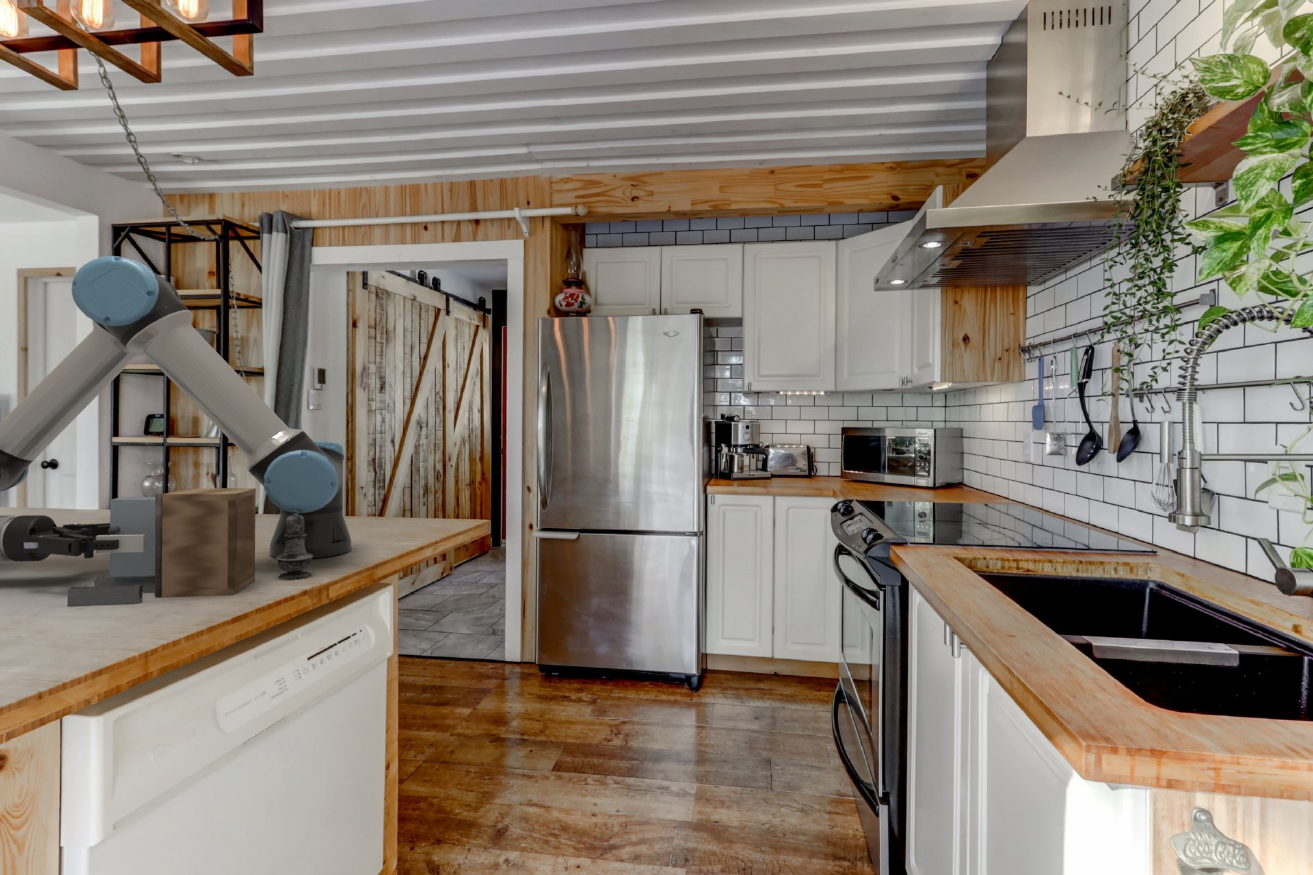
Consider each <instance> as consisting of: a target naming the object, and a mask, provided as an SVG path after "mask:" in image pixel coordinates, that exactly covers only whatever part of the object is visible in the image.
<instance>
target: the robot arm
mask: <svg viewBox="0 0 1313 875" xmlns="http://www.w3.org/2000/svg"><path fill="white" fill-rule="evenodd" d="M71 295H72V298H73V302H74V303H75V305H76V307H77V308H78V309H79V310H80V312H82V313H83V314H84V315H85V317H87V318H89V319H91V322H92V326H93V327H92V328H93V329H92V331H91V332H90V333H89V334H88V335H86V337H85V338H84V339H83V340H82V341H81V342H79V343H78V344H77V346H76V347H75V348H74V349H72V351H71V352H70V353H69V354H67V355H66V356H65V358H63V360H62V361H60V362H59V364H58V365H56V366H55V367H54V368H53V369H52V371H50V373H48V375H47V376H45V377H44V378H43V380H41V381H40V382H39V383H38V385H36V386H35V387H34V388H33V389H32V390H31V391H30V392H29V394H27V395H26V396H25V397H24V398H23V399H22V400H21V401H20V402H19V403H18V404H17V405H16V406H15V407H14V408H13V409H12V410H11V411H10V412H9V413H8V414H7V415H6V416H5V417H4V418H3V419H2V420H1V421H0V492H5V491H7V490H9V489H12V488H14V487H17V486H19V485H20V484H21V483H23V482H24V480H25V479H26V478H27V476H28V473H29V468H30V465H31V464H32V463H33V462H34V461H35V460H36V459H37V458H38V457H39V456H40V455H41V454H42V452H44V450H46V448H47V447H48V446H49V445H50V444H51V443H53V442H54V440H56V439H57V437H58V436H59V435H60V434H61V433H62V432H63V431H64V430H65V429H67V427H68V426H69V425H70V424H71V423H72V422H74V420H75V419H76V418H77V417H78V416H79V415H80V414H81V413H82V412H83V411H84V410H85V409H86V408H87V407H88V406H89V405H90V404H91V403H92V402H93V401H94V400H95V399H96V398H97V397H98V396H99V395H100V394H101V393H102V391H103V390H104V389H106V388H107V386H108V385H109V384H110V383H112V381H114V380H115V378H116V377H118V375H119V374H120V373H121V372H122V371H123V370H124V369H125V368H126V367H128V365H129V364H130V363H131V362H132V361H133V360H134V359H135V358H136V357H138V356H139V357H140V356H146V357H148V358H149V359H150V360H151V362H153V364H155V366H157V367H158V368H159V369H160V371H162V373H163V374H164V375H166V377H168V378H169V380H171V382H172V383H174V385H175V386H176V387H177V388H179V390H180V391H181V392H182V393H183V394H184V395H185V396H186V397H187V398H188V399H189V400H190V401H191V402H193V404H194V405H195V406H196V407H197V408H198V409H199V410H200V411H201V412H202V413H203V414H204V415H205V416H206V417H207V418H208V419H209V420H210V421H211V422H212V423H213V424H214V425H215V426H216V427H217V428H218V429H219V430H220V431H221V432H222V433H223V434H224V435H225V436H226V437H227V438H228V440H230V441H231V442H232V443H233V444H234V445H235V446H236V447H237V449H239V450H240V451H241V452H242V453H243V455H245V456H246V457H247V466H246V468H247V469H246V470H247V471H248V472H249V474H251V475H252V476H253V477H254V478H255V480H256V481H257V482H258V483H259V484H261V486H262V487H263V488H264V491H265V493H266V496H268V499H269V500H270V501H271V503H273V504H274V505H275V506H276V507H278V508H279V519H278V521H277V523H276V524H277V525H276V527H275V530H274V532H273V535H272V538H271V540H270V543H269V556H270V557H273V558H276V557H277V556H280V555H282V554H283V553H284V550H285V547H286V538H285V537H284V535H285V534H286V520H287V518H288V517H289V516H290V515H292V514H294V510H295V509H296V510H297V511H298V512H297V514H299V515H301V516H303V517H304V533H305V534H307V535H306V536H305V543H304V546H305V549H306V552H307V553H310V554H313V555H314V556H313V557H312V559H319V558H326V557H327V558H328V557H333V556H338V554H339V555H342V554H343V555H344V554H345V552H346V553H348V551H349V552H350V551H351V550H352V537H351V534H350V531H349V529H348V525H347V524H346V519H345V518H344V512H343V511H344V510H343V508H344V506H343V505H344V504H343V503H344V460H345V453H344V447H343V445H342V444H340V443H338V442H335V441H324V440H322V441H321V440H313V439H312V438H311V437H310V436H309V435H308V434H307V433H306V432H305V431H304V430H303V429H298V428H297V429H296V428H290V427H289V426H288V425H287V424H286V423H285V422H284V421H283V420H282V419H281V418H280V417H279V416H278V415H277V413H276V412H274V411H273V409H272V408H270V406H269V405H267V403H266V402H265V401H264V400H263V399H262V398H261V397H260V396H259V395H258V393H256V392H255V391H254V389H253V388H251V387H250V385H249V384H248V383H247V382H246V381H245V380H244V378H242V377H241V376H240V375H239V374H238V373H237V372H236V371H235V370H234V369H233V368H232V366H231V365H229V363H228V362H227V361H226V360H225V359H224V358H223V357H222V356H221V355H220V354H219V353H218V352H217V351H216V350H215V349H214V348H213V346H212V345H211V344H209V342H208V341H207V340H206V339H205V338H204V337H203V336H202V335H201V334H200V333H199V332H198V331H197V330H196V328H194V326H193V325H192V320H193V312H192V311H191V310H190V309H189V308H188V307H187V306H186V305H185V304H184V303H183V302H182V299H181V297H180V294H179V292H178V291H177V289H176V288H175V287H174V285H173V284H172V283H171V282H169V281H168V280H166V279H165V278H164V277H163V276H161V275H159V274H157V273H155V271H152V270H151V269H150V268H149V267H148V266H146V265H145V264H144V263H142V262H140V261H139V260H138V261H137V260H134V259H131V258H128V257H127V258H126V257H123V256H116V255H108V256H101V257H97V258H94V259H92V260H90V261H87V262H86V263H84V264H83V265H82V266H81V267H80V268H79V269H78V270H77V272H76V273H75V275H74V277H73V279H72V283H71ZM109 528H110V522H104V523H103V522H102V523H84V524H83V523H76V524H75V523H69V524H63V525H62V526H58V525H57V524H56V523H55V520H54V519H53V518H51V517H50V516H47V515H44V514H43V515H42V514H39V515H38V514H35V515H28V514H27V515H24V514H23V515H15V514H11V515H7V514H6V515H5V514H2V515H1V514H0V563H1V562H3V563H4V562H15V563H17V562H23V563H24V562H42V561H44V560H46V559H47V558H49V557H50V555H54V556H55V555H56V556H68V557H74V558H75V557H79V556H82V555H83V559H93V558H94V556H95V555H94V552H95V554H107V553H108V554H110V553H122V552H145V551H146V535H110V533H109V532H108V529H109Z"/></svg>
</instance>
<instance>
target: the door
mask: <svg viewBox="0 0 1313 875" xmlns="http://www.w3.org/2000/svg"><path fill="white" fill-rule="evenodd" d="M109 502H110V503H109V504H110V507H109V510H110V511H109V512H110V513H109V516H110V517H109V521H110V522H109V523H110V528H109V529H108V532H109V533H110V535H146V551H145V552H122V553H109V577H114V576H148V575H155V496H122V497H121V496H120V497H118V498H113V499H110V501H109Z"/></svg>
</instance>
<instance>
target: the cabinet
mask: <svg viewBox="0 0 1313 875" xmlns="http://www.w3.org/2000/svg"><path fill="white" fill-rule="evenodd" d="M256 491H257V490H256V487H253V488H252V487H249V488H248V487H232V488H231V487H229V488H228V487H226V488H225V487H224V488H223V487H219V488H218V487H214V488H213V487H212V488H209V487H206V488H203V487H199V488H197V487H196V488H194V487H190V488H184V489H180V490H175V491H171V492H166V493H155V495H154V497H155V592H154V597H155V598H171V597H172V598H174V597H175V598H176V597H199V596H200V597H201V596H202V597H203V596H226V595H227V596H229V595H230V594H231V595H235V593H236V594H237V593H238V591H239V592H240V591H242V590H243V589H245V588H247V586H249V585H250V584H253V583H254V582H255V581H256V572H255V571H256V501H257V500H256V499H257V498H256V495H257V492H256ZM241 589H242V590H241Z"/></svg>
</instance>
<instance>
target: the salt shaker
mask: <svg viewBox="0 0 1313 875" xmlns="http://www.w3.org/2000/svg"><path fill="white" fill-rule="evenodd" d="M297 512H298V511H297V510H296V509H295V510H294V514H292V515H290V516H289V517H288V518H287V520H286V534H285V535H284V537H285V538H286V547H285V550H284V553H283V554H282V555H280V556H277V557H275V560H277V564H278V567H279V569H280V570H282V571H284V572H282V573H280V574H279V575H278V576H277V579H278V578H279V580H281V579H282V580H281V581H294V580H295V579H297V580H301V579H300V578H304V579H306V578H310V577H311V576H312V573H311V572H309V571H306V569H307V568H309V566H310V565H311V563H312V559H313V558H312V557H313V556H314V555H313V554H310V553H307V552H306V549H305V546H304V543H305V536H306V535H307V534H305V533H304V517H303V516H301V515H299V514H297ZM309 576H310V577H309Z"/></svg>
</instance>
